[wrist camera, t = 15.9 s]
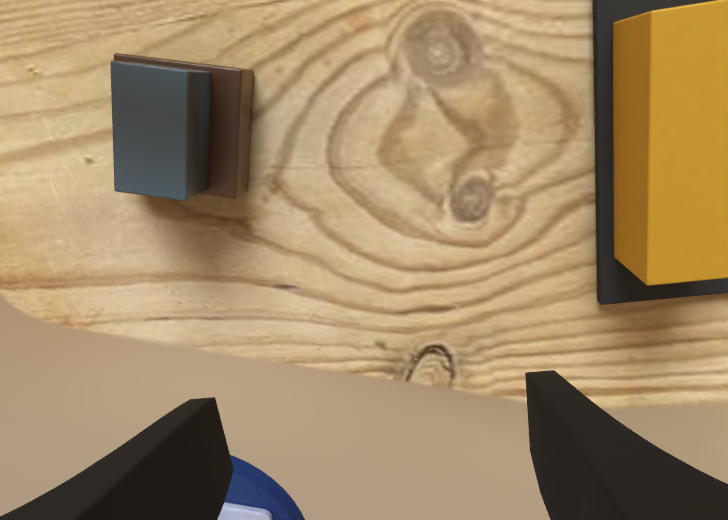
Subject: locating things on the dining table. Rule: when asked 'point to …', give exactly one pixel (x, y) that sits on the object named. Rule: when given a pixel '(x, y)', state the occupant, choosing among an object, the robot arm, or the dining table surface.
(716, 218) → the bar
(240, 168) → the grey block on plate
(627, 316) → the dining table surface
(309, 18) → the dining table surface
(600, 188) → the mat
